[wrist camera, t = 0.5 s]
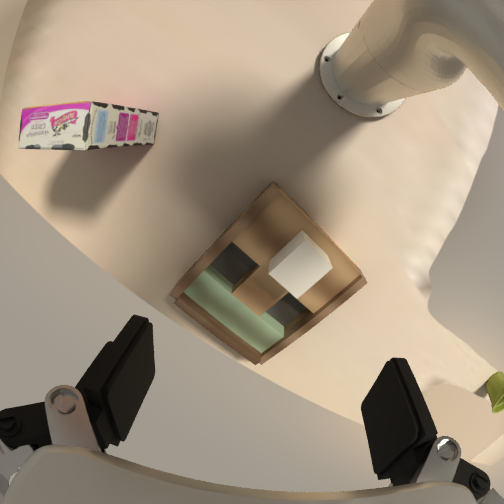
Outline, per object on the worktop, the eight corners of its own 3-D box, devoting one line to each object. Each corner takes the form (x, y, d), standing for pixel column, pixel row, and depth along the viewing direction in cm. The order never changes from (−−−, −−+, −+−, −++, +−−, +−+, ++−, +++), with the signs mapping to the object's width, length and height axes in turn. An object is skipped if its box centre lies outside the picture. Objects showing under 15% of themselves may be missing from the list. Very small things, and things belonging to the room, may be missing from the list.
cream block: (302, 229, 37) (304, 240, 33) (327, 255, 38) (332, 267, 34) (269, 260, 39) (268, 273, 35) (295, 284, 40) (297, 298, 36)
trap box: (272, 181, 38) (272, 187, 33) (360, 270, 41) (369, 286, 37) (178, 281, 45) (167, 297, 40) (262, 349, 48) (261, 368, 44)
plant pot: (474, 391, 51) (486, 413, 43) (496, 364, 48) (511, 386, 39) (490, 392, 52) (501, 413, 44) (510, 368, 48) (524, 388, 40)
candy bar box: (160, 110, 35) (93, 99, 20) (155, 144, 37) (86, 153, 22) (96, 109, 35) (20, 107, 20) (92, 140, 37) (16, 151, 22)
